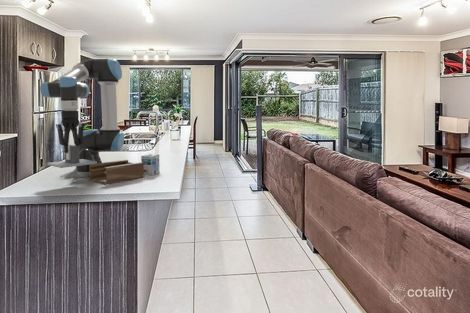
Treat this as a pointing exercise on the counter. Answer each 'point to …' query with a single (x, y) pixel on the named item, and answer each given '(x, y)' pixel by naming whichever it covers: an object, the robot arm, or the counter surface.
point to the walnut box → (116, 171)
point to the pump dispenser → (84, 169)
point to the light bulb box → (150, 164)
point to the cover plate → (72, 159)
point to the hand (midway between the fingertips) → (72, 159)
